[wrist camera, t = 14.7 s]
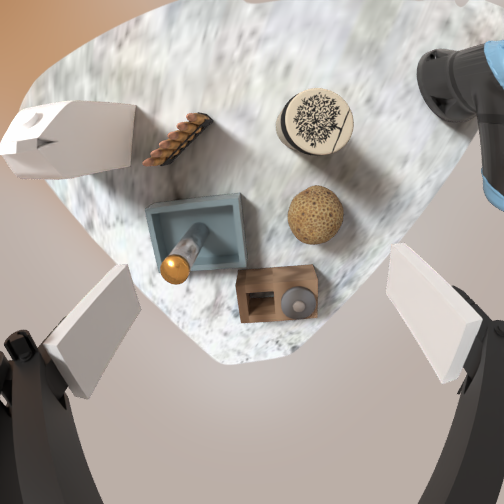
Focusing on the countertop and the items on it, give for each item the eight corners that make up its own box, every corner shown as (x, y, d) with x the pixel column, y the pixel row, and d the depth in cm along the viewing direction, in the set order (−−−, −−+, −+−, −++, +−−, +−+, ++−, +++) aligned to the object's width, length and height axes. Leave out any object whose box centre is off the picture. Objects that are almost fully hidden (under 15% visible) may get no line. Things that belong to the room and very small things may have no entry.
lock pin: (208, 220, 50) (185, 256, 35) (211, 240, 51) (190, 283, 36) (187, 222, 50) (157, 258, 35) (190, 242, 52) (163, 284, 37)
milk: (79, 164, 47) (-19, 195, 23) (83, 108, 43) (-18, 108, 19) (130, 166, 47) (33, 199, 23) (135, 105, 43) (37, 92, 19)
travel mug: (267, 135, 45) (269, 133, 28) (290, 96, 42) (305, 72, 25) (308, 158, 46) (333, 170, 29) (331, 120, 43) (368, 112, 26)
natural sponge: (294, 174, 47) (302, 184, 38) (342, 191, 48) (360, 204, 38) (278, 223, 50) (282, 243, 41) (325, 237, 51) (338, 260, 42)
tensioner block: (312, 264, 53) (319, 285, 46) (312, 300, 56) (318, 324, 49) (238, 270, 54) (234, 291, 47) (243, 305, 57) (240, 329, 50)
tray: (240, 192, 49) (238, 198, 45) (247, 257, 53) (246, 267, 49) (153, 203, 50) (144, 209, 46) (165, 263, 54) (158, 272, 50)
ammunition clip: (169, 164, 47) (143, 173, 36) (162, 157, 47) (134, 164, 35) (213, 120, 44) (197, 115, 33) (206, 113, 43) (188, 106, 32)
